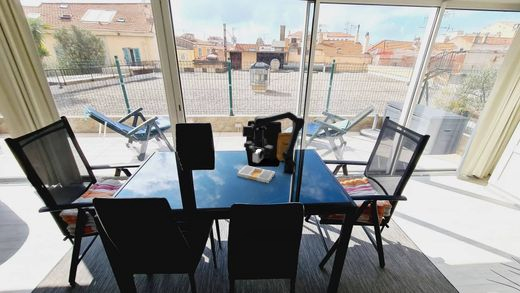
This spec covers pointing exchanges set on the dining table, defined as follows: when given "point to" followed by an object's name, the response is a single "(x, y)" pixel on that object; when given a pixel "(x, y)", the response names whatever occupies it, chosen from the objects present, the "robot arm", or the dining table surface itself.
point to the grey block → (257, 156)
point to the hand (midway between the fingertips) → (258, 158)
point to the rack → (256, 173)
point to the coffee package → (282, 144)
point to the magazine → (266, 154)
